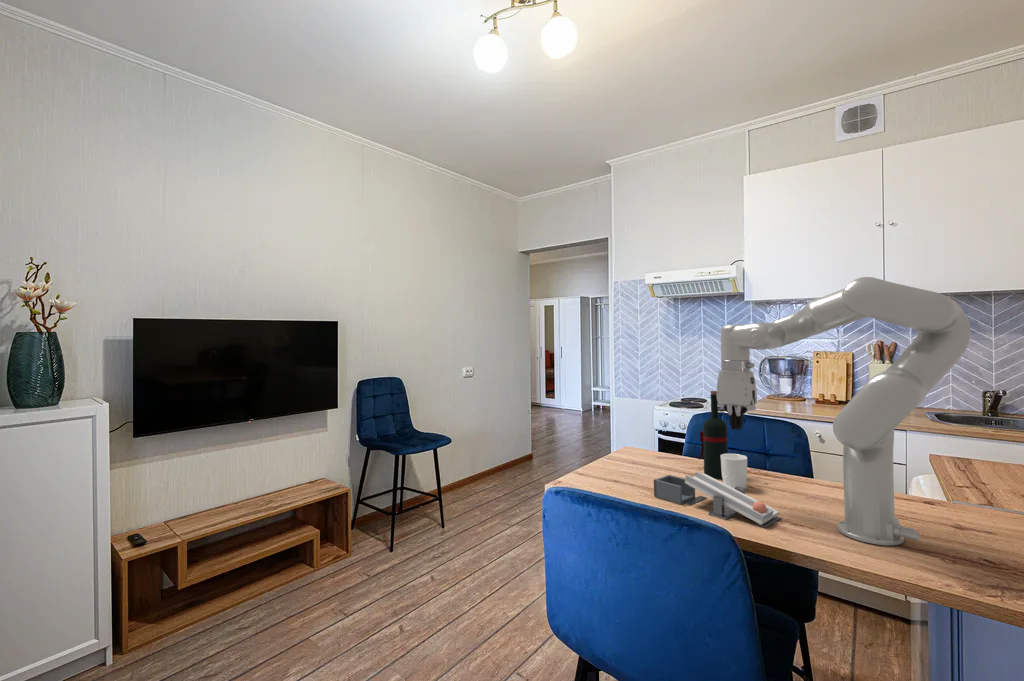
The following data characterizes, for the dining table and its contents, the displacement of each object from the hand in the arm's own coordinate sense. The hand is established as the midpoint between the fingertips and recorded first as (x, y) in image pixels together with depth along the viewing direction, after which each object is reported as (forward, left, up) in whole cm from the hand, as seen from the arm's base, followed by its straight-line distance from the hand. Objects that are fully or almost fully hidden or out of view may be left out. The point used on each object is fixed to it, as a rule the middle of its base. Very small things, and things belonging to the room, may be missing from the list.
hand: (736, 428), depth 131 cm
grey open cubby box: (+15, +10, -22) cm, 28 cm away
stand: (-1, +8, -22) cm, 23 cm away
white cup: (+8, -13, -22) cm, 27 cm away
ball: (-10, +10, -18) cm, 23 cm away
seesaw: (-1, +8, -18) cm, 19 cm away
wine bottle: (+19, -20, -22) cm, 35 cm away
